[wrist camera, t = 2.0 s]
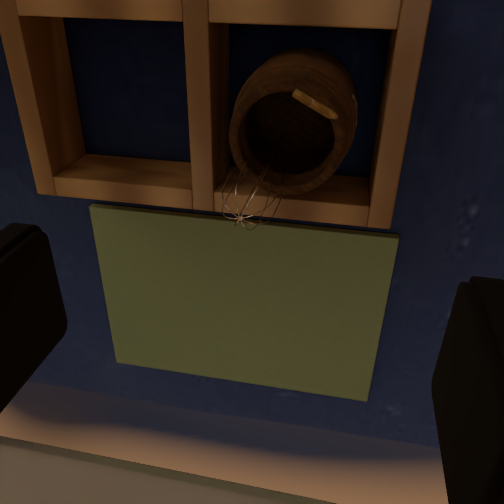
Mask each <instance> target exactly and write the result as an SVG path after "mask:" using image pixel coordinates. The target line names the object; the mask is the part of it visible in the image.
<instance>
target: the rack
mask: <svg viewBox="0 0 504 504" xmlns="http://www.w3.org/2000/svg"><path fill="white" fill-rule="evenodd" d="M431 5H432V0H0V34H1V38H2V42H3V47H4V51H5V55H6V59H7V64H8V68H9V72H10V76H11V81H12V85H13V89H14V94H15V98H16V102H17V106H18V111H19V115H20V119H21V124H22V128H23V132H24V136H25V141H26V145H27V149H28V153H29V158H30V162H31V166H32V171H33V175H34V179H35V183H36V188H37V192H38V194H45V195H55V196H56V195H58V196H66V197H76V198H86V199H96V200H106V201H116V202H126V203H136V204H145V205H155V206H165V207H175V208H185V209H195V210H205V211H214V210H215V212H222V211H221V210H222V206H223V204H224V202H225V200H226V198H227V196H228V194H229V192H230V191H231V189H232V188H233V186H234V185H235V184H236V183H237V180H238V177H239V175H240V173H241V171H240V169H239V168H238V167H237V166H231V167H230V144H229V128H230V84H229V23H234V24H261V25H288V26H315V27H342V28H368V29H391V33H390V40H389V47H388V53H387V60H386V67H385V74H384V80H383V87H382V94H381V100H380V107H379V114H378V121H377V127H376V134H375V141H374V147H373V154H372V161H371V167H370V174H369V178H366V177H354V176H342V175H332V176H331V177H330V178H329V179H328V180H327V181H326V182H324V183H323V184H322V185H320V186H319V187H317V188H315V189H313V190H311V191H308V192H306V193H302V194H297V195H282V198H281V201H280V197H281V195H280V194H277V196H276V194H275V193H271V192H270V194H269V192H268V191H266V190H263V189H261V188H259V187H258V186H255V184H253V183H252V182H251V181H249V180H248V179H247V178H246V177H245V176H244V175H243V173H242V174H241V176H240V178H241V177H243V176H244V177H243V178H242V179H241V180H240V181H239V180H238V181H239V182H238V184H237V190H236V202H237V208H238V212H239V214H240V212H241V211H242V209H243V207H244V205H245V203H246V201H247V199H248V197H249V195H250V193H251V192H252V190H253V188H254V186H255V188H254V190H253V192H252V194H251V196H250V197H249V199H248V201H247V203H246V205H245V207H244V209H243V211H244V210H245V208H246V206H247V205H248V203H249V201H250V199H251V198H252V196H253V194H254V192H255V190H256V188H257V187H258V189H257V191H256V193H255V195H254V196H253V198H252V200H251V202H250V203H249V205H248V207H247V209H246V210H245V212H244V215H253V214H255V213H258V212H259V211H261V210H263V209H264V208H265V206H266V202H267V199H268V194H269V199H268V203H267V206H268V205H269V204H270V203H271V202H272V201H273V199H274V197H275V196H276V198H275V200H274V201H273V203H272V204H271V205H270V206H269V207H267V206H266V207H267V208H266V209H265V211H264V210H263V211H264V213H263V211H262V212H260V213H258V214H256V215H254V216H261V215H262V213H263V215H262V216H264V217H272V215H273V214H274V212H275V210H276V208H277V205H278V203H279V201H280V204H279V206H278V208H277V210H276V212H275V214H274V216H273V217H274V218H284V219H294V220H304V221H314V222H323V223H333V224H343V225H353V226H363V227H366V226H367V227H374V228H383V229H390V228H391V222H392V217H393V211H394V206H395V201H396V195H397V190H398V184H399V179H400V173H401V168H402V162H403V157H404V152H405V146H406V141H407V135H408V130H409V124H410V119H411V114H412V108H413V103H414V97H415V92H416V86H417V81H418V76H419V70H420V65H421V59H422V54H423V48H424V43H425V38H426V32H427V27H428V21H429V16H430V10H431ZM63 17H72V18H98V19H125V20H152V21H179V22H182V21H183V26H184V45H185V63H186V82H187V100H188V119H189V138H190V156H191V163H189V162H178V161H166V160H154V159H142V158H131V157H119V156H107V155H96V154H86V151H85V145H84V139H83V133H82V127H81V121H80V115H79V109H78V104H77V98H76V92H75V86H74V80H73V74H72V68H71V62H70V56H69V51H68V45H67V39H66V33H65V27H64V21H63ZM236 167H237V168H236ZM235 168H236V169H235ZM234 169H235V170H234ZM233 170H234V171H233ZM232 171H233V173H232V174H231V172H232ZM230 174H231V176H230V178H229V179H228V177H229V175H230ZM240 178H239V179H240ZM227 179H228V181H227ZM226 181H227V183H226ZM225 183H226V185H225ZM224 185H225V187H224ZM223 187H224V190H223V199H224V202H223V199H222V189H223ZM235 188H236V186H235V187H234V188H233V190H232V191H231V193H230V195H229V196H228V198H227V200H226V202H225V204H226V205H227V207H228V208H229V209H230V210H231V211H232V212H233V213H234V214H238V213H237V209H236V204H235ZM225 204H224V206H223V212H224V213H231V212H230V211H229V210H228V209H227V208H226V206H225ZM243 211H242V213H243ZM242 213H241V214H242Z"/></svg>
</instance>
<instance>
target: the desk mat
mask: <svg viewBox="0 0 504 504" xmlns="http://www.w3.org/2000/svg"><path fill="white" fill-rule="evenodd" d="M89 209H90V215H91V221H92V226H93V232H94V238H95V243H96V249H97V255H98V260H99V266H100V271H101V277H102V283H103V288H104V294H105V300H106V305H107V311H108V317H109V322H110V328H111V334H112V339H113V345H114V351H115V356H116V362H118V363H124V364H131V365H137V366H143V367H150V368H156V369H163V370H169V371H175V372H182V373H188V374H194V375H201V376H207V377H213V378H220V379H226V380H233V381H239V382H245V383H252V384H258V385H264V386H271V387H277V388H283V389H290V390H296V391H303V392H309V393H315V394H322V395H328V396H334V397H341V398H347V399H353V400H360V401H367V399H368V394H369V389H370V384H371V379H372V374H373V369H374V364H375V359H376V354H377V349H378V344H379V339H380V334H381V328H382V323H383V318H384V313H385V308H386V303H387V298H388V293H389V288H390V283H391V278H392V273H393V268H394V263H395V258H396V252H397V247H398V242H399V235H398V234H388V233H378V232H369V231H359V230H349V229H339V228H330V227H320V226H310V225H300V224H290V223H281V222H271V221H268V222H267V223H264V224H258V225H257V224H251V223H258V221H259V220H251V219H244V220H246V221H248V222H251V223H248V222H245V221H243V220H242V222H243V224H244V226H245V227H246V228H247V229H250V230H251V229H253V228H255V226H256V225H257V227H256V228H255V229H254V230H252V231H249V230H247V229H245V227H244V226H243V225H242V223H241V221H240V220H239V219H238V220H239V222H238V223H237V225H236V226H235V227H234V224H235V222H236V220H237V219H228V218H226V217H222V216H212V215H203V214H193V213H183V212H173V211H164V210H154V209H144V208H134V207H125V206H115V205H105V204H95V203H93V204H92V205H90V206H89ZM229 218H232V217H229ZM263 222H266V221H261V220H260V221H259V223H263Z"/></svg>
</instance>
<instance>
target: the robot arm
mask: <svg viewBox="0 0 504 504" xmlns="http://www.w3.org/2000/svg"><path fill="white" fill-rule="evenodd" d="M66 330H67V317H66V313H65V309H64V304H63V300H62V296H61V291H60V287H59V283H58V278H57V274H56V270H55V265H54V261H53V257H52V252H51V248H50V244H49V239H48V236H47V235H46V233H44V232H42V230H41V229H40V227H38V226H37V225H29V224H21V223H11V224H9V225H8V226H6V227H5V228H3V229H2V230H1V231H0V413H1V412H2V411H3V409H4V408H5V407H6V406H7V404H8V403H9V402H10V401H11V399H12V398H13V397H14V396H15V395H16V394H17V392H18V391H19V390H20V389H21V387H22V386H23V385H24V384H25V382H26V381H27V380H28V379H29V378H30V376H31V375H32V374H33V373H34V372H35V370H36V369H37V368H38V367H39V366H40V364H41V363H42V362H43V361H44V359H45V358H46V357H47V356H48V355H49V353H50V352H51V351H52V350H53V348H54V347H55V346H56V345H57V344H58V342H59V341H60V340H61V339H62V338H63V336H64V335H65V333H66ZM432 399H433V405H434V412H435V418H436V425H437V431H438V438H439V444H440V451H441V457H442V464H443V470H444V477H445V483H446V489H447V496H448V502H449V504H504V281H503V280H501V279H494V278H486V277H477V276H472V277H471V278H470V280H469V282H460V284H459V286H458V289H457V293H456V296H455V300H454V303H453V307H452V310H451V314H450V317H449V321H448V324H447V328H446V331H445V335H444V338H443V342H442V346H441V349H440V353H439V356H438V360H437V363H436V367H435V370H434V374H433V378H432ZM0 504H336V503H331V502H327V501H322V500H317V499H313V498H307V497H303V496H297V495H293V494H288V493H283V492H278V491H273V490H268V489H264V488H259V487H254V486H249V485H244V484H239V483H234V482H229V481H224V480H220V479H215V478H210V477H204V476H200V475H195V474H190V473H185V472H180V471H175V470H170V469H165V468H160V467H155V466H150V465H145V464H140V463H135V462H130V461H125V460H120V459H115V458H110V457H105V456H100V455H94V454H90V453H85V452H80V451H75V450H70V449H64V448H59V447H54V446H49V445H44V444H39V443H34V442H29V441H24V440H19V439H13V438H7V437H3V436H0Z"/></svg>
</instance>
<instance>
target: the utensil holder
mask: <svg viewBox="0 0 504 504" xmlns="http://www.w3.org/2000/svg"><path fill="white" fill-rule="evenodd" d="M357 110H358V105H357V94H356V89H355V86H354V83H353V80H352V78H351V76H350V74H349V73H348V71H347V70H346V68H345V67H344V66H343V65H342V64H341V63H340V62H339V61H338V60H337V59H336V58H335V57H333V56H332V55H330V54H328V53H326V52H324V51H322V50H319V49H315V48H310V47H296V48H290V49H286V50H284V51H281V52H279V53H277V54H275V55H273V56H272V57H270V58H269V59H267V60H266V61H265V62H264V63H263V64H262V65H261V66H260V67H259V68H258V69H256V70H255V72H254V73H253V74H252V75H251V76H250V77H249V78H248V80H247V81H246V82H245V84H244V85H243V87H242V88H241V90H240V92H239V94H238V97H237V99H236V102H235V106H234V110H233V114H232V118H231V122H230V128H229V144H230V149H231V153H232V156H233V159H234V161H235V163H236V165H237V167H238V168H239V169H240V171H241V173H240V175H239V177H238V180H239V181H240V180H241V179H242V178H243V177H244V176H245V177H246V178H247V179H248V180H249V181H251V182H252V183H253V184H255V186H258V187H259V188H261V189H263V190H266V191H268V192H269V194H270V192H271V193H275V194H276V196H277V194H280V195H281V197H280V201H281V198H282V195H297V194H302V193H306V192H308V191H311V190H313V189H315V188H317V187H319V186H320V185H322V184H323V183H324V182H326V181H327V180H328V179H329V178H330V177H331V176H332V175H333V173H334V172H335V171H336V170H337V168H338V167H339V165H340V163H341V162H342V160H343V159H344V157H345V156H346V154H347V153H348V151H349V149H350V147H351V144H352V142H353V139H354V136H355V131H356V125H357ZM237 167H236V168H237ZM236 168H235V169H236ZM235 169H234V170H235ZM234 170H233V171H234ZM233 171H232V172H231V174H232V173H233ZM242 173H243V175H244V176H243V177H241V178H240V176H241V174H242ZM231 174H230V175H229V177H228V179H229V178H230V176H231ZM239 178H240V179H239ZM228 179H227V181H228ZM238 180H237V183H236V184H235V185H234V186H233V188H234V187H235V186H236V188H235V204H236V209H237V213H238V216H237V215H235V214H234V213H233V212H232V211H231V210H230V209H229V208H228V207H227V205H226V204H225V202H226V200H227V198H228V196H229V195H230V193H231V191H232V190H233V188H232V189H231V191H230V192H229V194H228V196H227V198H226V200H225V202H224V199H223V190H224V187H225V185H226V183H227V181H226V183H225V185H224V187H223V189H222V199H223V202H224V204H225V206H226V208H227V209H228V210H229V211H230V212H231V213H232V214H233V215H235V216H236V217H238V218H229V217H226V216H225V215H224V214H223V206H224V204H223V206H222V210H221V211H222V214H223V216H224V217H226V218H228V219H237V220H236V222H235V224H234V227H235V226H236V225H237V223H238V222H239V220H240V221H241V223H242V225H243V226H244V224H243V222H242V220H243V221H245V222H248V221H246V220H244V219H242V218H247V217H251V216H254V215H256V214H258V213H260V212H262V211H263V210H264V211H265V209H266V208H267V207H269V206H270V205H271V204H272V203H273V201H274V200H275V198H276V196H275V197H274V199H273V201H272V202H271V203H270V204H269V205H268V206H267V203H268V199H269V194H268V199H267V202H266V206H267V207H266V206H265V208H264V209H263V210H261V211H259V212H258V213H255V214H253V215H250V216H247V217H242V215H243V214H244V212H245V210H246V209H247V207H248V205H249V203H250V202H251V200H252V198H253V196H254V195H255V193H256V191H257V189H258V187H257V188H256V190H255V192H254V194H253V196H252V198H251V199H250V201H249V203H248V205H247V206H246V208H245V210H244V211H243V209H244V207H245V205H246V203H247V201H248V199H249V197H250V196H251V194H252V192H253V190H254V188H255V186H254V188H253V190H252V192H251V193H250V195H249V197H248V199H247V201H246V203H245V205H244V207H243V209H242V211H243V213H242V211H241V212H240V214H239V212H238V208H237V202H236V190H237V184H238V182H239V181H238ZM280 201H279V203H278V205H277V208H278V206H279V204H280ZM277 208H276V210H277ZM276 210H275V212H276ZM264 211H263V213H264ZM275 212H274V214H275ZM241 213H242V215H241ZM263 213H262V215H263ZM274 214H273V215H272V217H273V216H274ZM240 215H241V216H240ZM262 215H261V217H262ZM261 217H260V219H261ZM272 217H271V218H270V219H269V220H268V221H270V220H271V219H272ZM238 219H239V220H238ZM260 219H259V221H260ZM259 221H258V223H251V222H248V223H251V224H257V225H258V224H264V223H267V222H268V221H266V222H263V223H259ZM257 225H256V226H255V228H256V227H257ZM244 227H245V226H244ZM255 228H253V229H251V230H250V229H247V228H246V227H245V229H247V230H249V231H252V230H254V229H255Z"/></svg>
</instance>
